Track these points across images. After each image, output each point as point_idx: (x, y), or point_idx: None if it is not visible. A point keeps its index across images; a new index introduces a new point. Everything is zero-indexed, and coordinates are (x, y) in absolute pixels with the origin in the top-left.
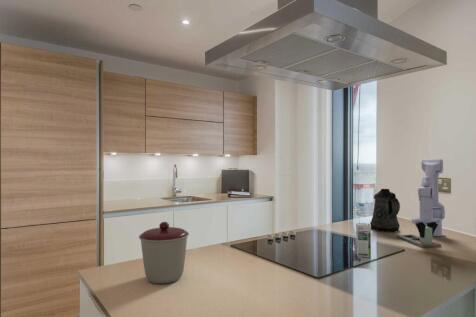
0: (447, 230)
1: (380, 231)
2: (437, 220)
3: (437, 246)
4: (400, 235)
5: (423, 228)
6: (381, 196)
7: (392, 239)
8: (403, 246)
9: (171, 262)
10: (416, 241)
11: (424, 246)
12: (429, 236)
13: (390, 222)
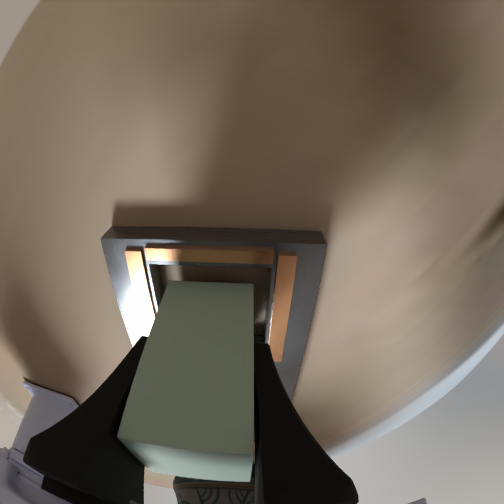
0: (15, 405)
1: None
2: (15, 499)
3: (149, 230)
4: None
5: (300, 451)
6: None
7: (335, 410)
8: (428, 293)
9: None
10: (281, 349)
11: (306, 237)
12: (187, 344)
13: (232, 500)
